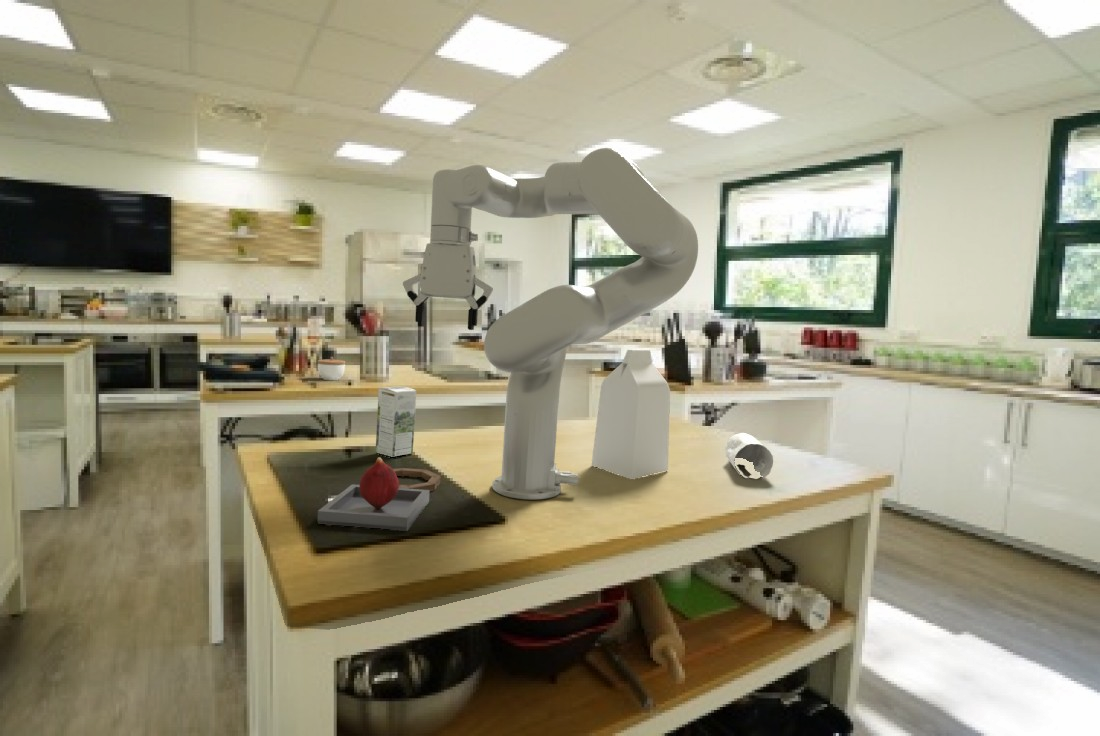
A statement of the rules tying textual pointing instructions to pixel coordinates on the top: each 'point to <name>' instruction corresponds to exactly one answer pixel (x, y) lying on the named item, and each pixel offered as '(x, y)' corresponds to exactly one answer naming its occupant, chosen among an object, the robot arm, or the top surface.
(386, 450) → the syrup box
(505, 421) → the robot arm
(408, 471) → the ring
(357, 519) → the dish
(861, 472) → the top surface
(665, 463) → the milk
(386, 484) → the onion
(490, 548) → the top surface
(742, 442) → the tipped white cup
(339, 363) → the lidded jar
